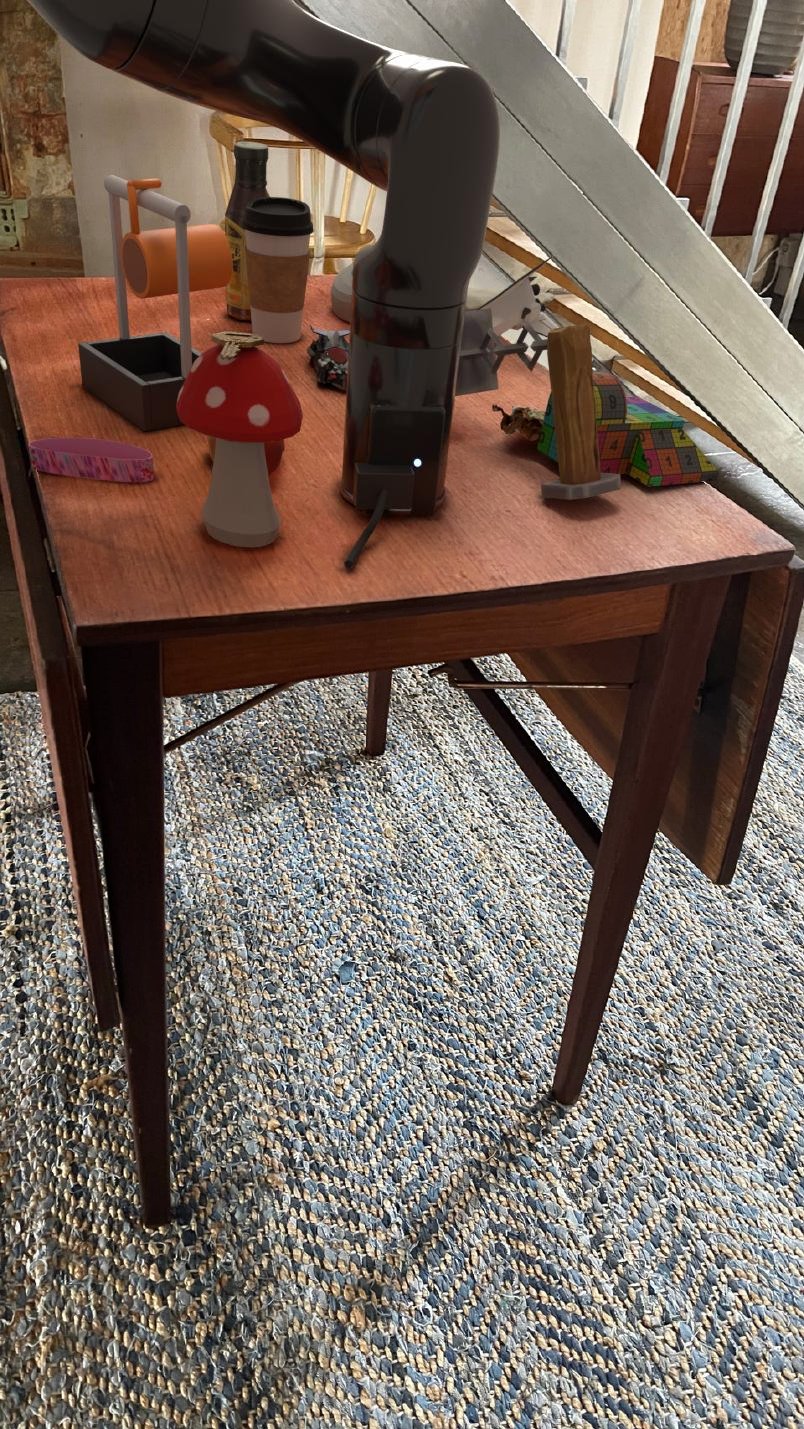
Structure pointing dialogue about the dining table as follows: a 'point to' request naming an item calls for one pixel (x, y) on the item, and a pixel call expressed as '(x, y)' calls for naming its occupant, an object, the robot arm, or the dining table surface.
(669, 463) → the building blocks
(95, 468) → the headband
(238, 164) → the sauce bottle
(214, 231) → the orange mug
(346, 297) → the decorative stone
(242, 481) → the decorative mushroom
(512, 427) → the brown crumpled lump
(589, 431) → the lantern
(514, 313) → the space shuttle model
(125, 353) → the basket
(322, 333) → the toy car
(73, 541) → the dining table surface
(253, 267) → the coffee cup
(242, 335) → the key
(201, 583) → the dining table surface
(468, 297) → the arrowhead
